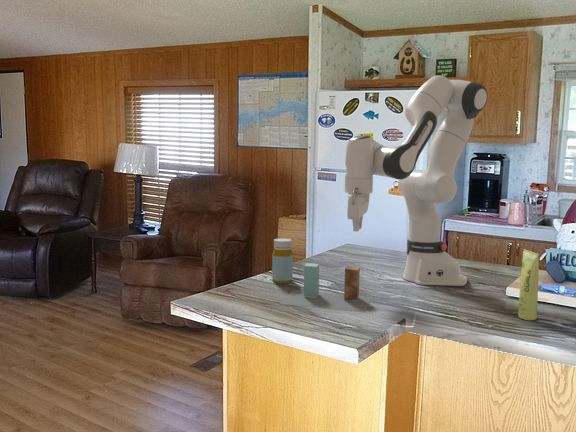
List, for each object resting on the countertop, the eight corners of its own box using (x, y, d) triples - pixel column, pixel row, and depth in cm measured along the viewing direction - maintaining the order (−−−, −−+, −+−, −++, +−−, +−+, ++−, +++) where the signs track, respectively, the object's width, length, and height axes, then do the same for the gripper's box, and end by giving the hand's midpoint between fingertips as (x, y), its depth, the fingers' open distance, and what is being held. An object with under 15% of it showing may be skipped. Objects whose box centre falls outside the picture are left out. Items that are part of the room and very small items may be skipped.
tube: (513, 317, 165) (517, 250, 163) (519, 313, 169) (523, 248, 166) (533, 322, 162) (538, 253, 159) (539, 317, 166) (544, 251, 163)
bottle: (290, 285, 198) (290, 242, 196) (270, 283, 200) (270, 241, 198) (294, 280, 205) (294, 238, 203) (274, 278, 207) (275, 237, 204)
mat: (372, 298, 183) (372, 297, 183) (365, 313, 168) (365, 312, 168) (293, 291, 190) (293, 290, 190) (279, 305, 175) (279, 304, 175)
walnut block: (358, 297, 182) (359, 266, 181) (356, 301, 179) (357, 269, 177) (346, 296, 183) (347, 266, 182) (344, 300, 180) (344, 268, 178)
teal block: (318, 294, 186) (319, 264, 184) (315, 297, 182) (316, 266, 181) (306, 293, 187) (307, 263, 185) (303, 296, 183) (304, 265, 182)
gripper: (363, 190, 173) (362, 235, 175) (372, 184, 192) (371, 225, 194) (343, 189, 175) (341, 234, 177) (353, 183, 194) (352, 224, 196)
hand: (357, 229), depth 186 cm, fingers open, 3 cm apart
